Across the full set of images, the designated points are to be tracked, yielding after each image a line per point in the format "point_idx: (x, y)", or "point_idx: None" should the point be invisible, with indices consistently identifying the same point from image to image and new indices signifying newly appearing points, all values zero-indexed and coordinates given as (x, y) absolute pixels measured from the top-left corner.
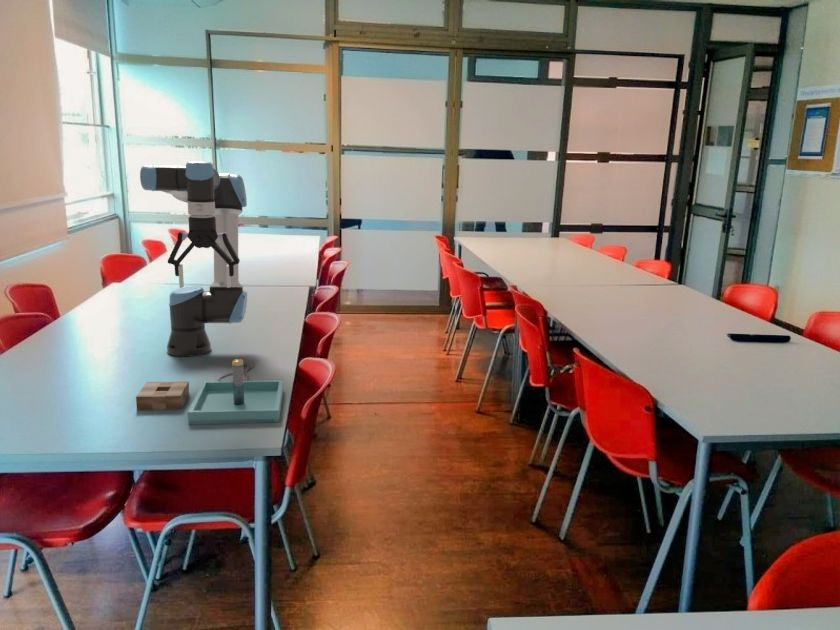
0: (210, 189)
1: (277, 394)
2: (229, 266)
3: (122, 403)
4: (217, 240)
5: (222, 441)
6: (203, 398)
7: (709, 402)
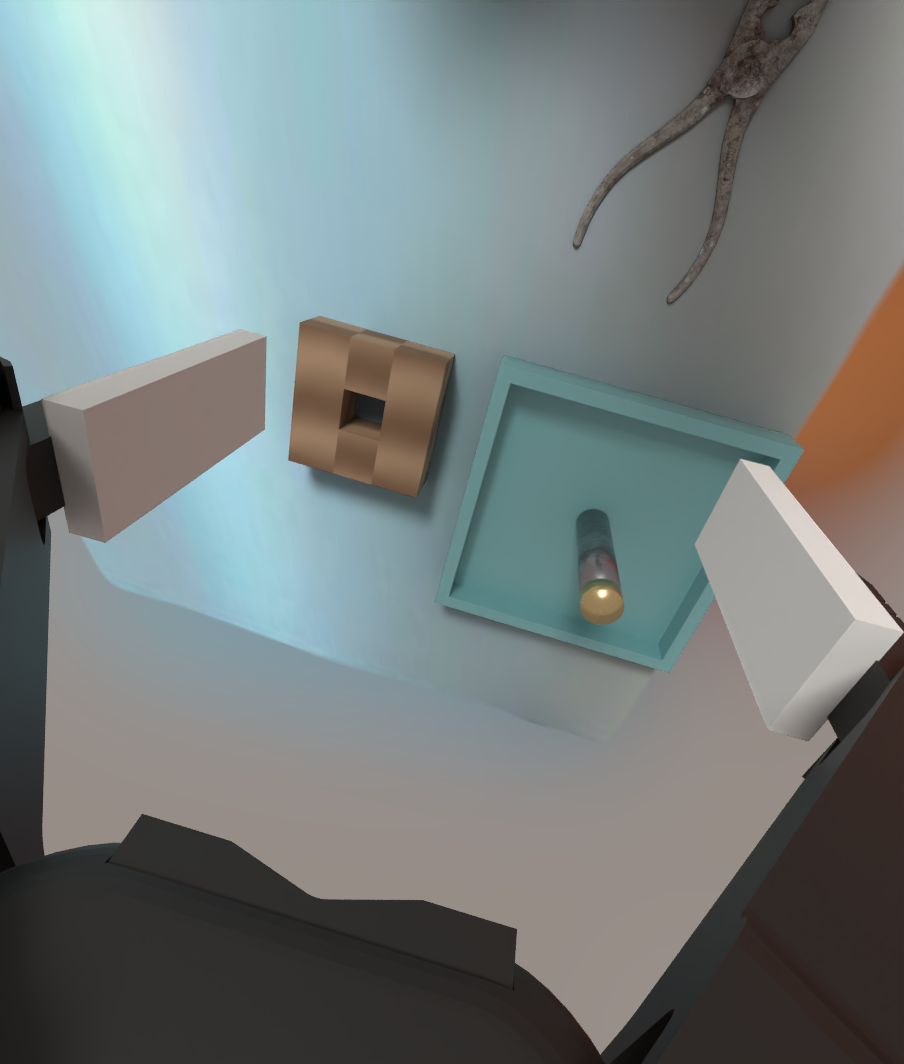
0: None
1: None
2: (831, 715)
3: None
4: None
5: (507, 686)
6: (493, 448)
7: None
